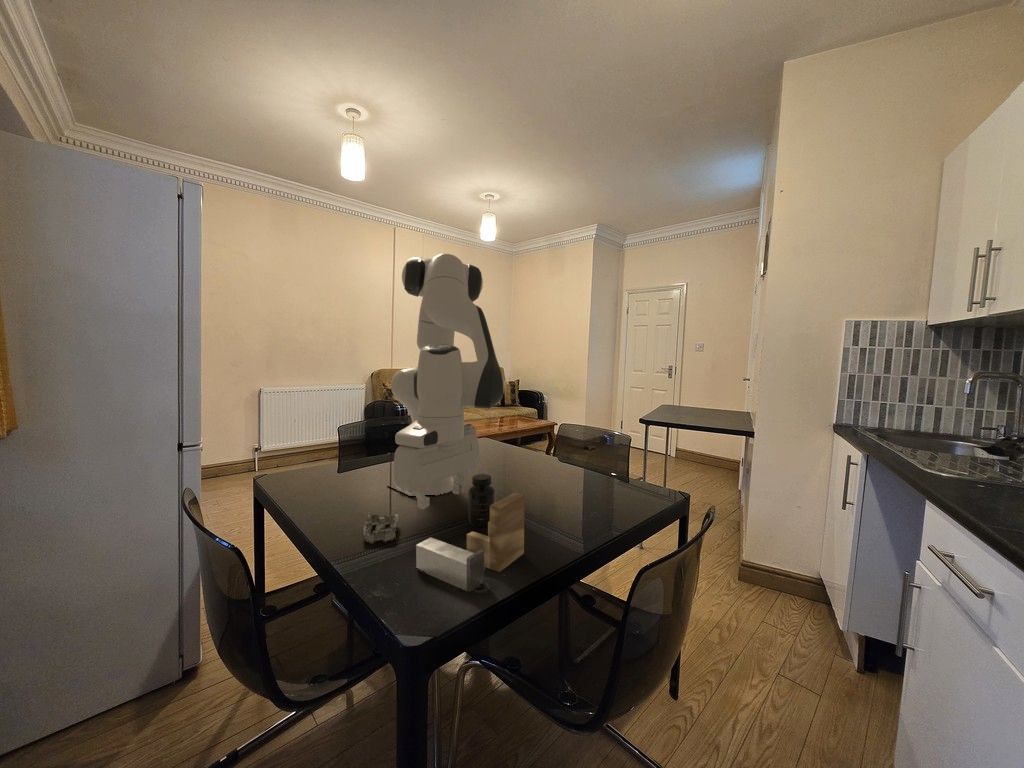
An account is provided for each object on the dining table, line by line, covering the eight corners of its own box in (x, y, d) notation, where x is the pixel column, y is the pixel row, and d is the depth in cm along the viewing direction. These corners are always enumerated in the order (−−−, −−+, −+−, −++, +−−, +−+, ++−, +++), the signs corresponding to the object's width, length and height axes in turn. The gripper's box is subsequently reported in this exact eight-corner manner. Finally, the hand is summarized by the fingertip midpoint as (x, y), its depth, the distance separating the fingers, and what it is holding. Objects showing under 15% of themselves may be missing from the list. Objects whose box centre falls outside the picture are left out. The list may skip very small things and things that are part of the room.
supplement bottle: (470, 516, 105) (470, 472, 105) (496, 517, 105) (496, 472, 104) (466, 528, 99) (466, 480, 98) (494, 528, 98) (494, 481, 98)
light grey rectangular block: (416, 569, 80) (416, 539, 79) (431, 560, 83) (430, 531, 82) (470, 592, 72) (470, 559, 71) (483, 582, 75) (483, 550, 75)
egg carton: (368, 526, 100) (368, 510, 100) (399, 524, 101) (399, 508, 101) (360, 546, 89) (360, 528, 89) (395, 543, 91) (395, 525, 90)
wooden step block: (466, 559, 83) (466, 499, 82) (492, 543, 91) (492, 487, 90) (499, 572, 79) (499, 508, 78) (523, 553, 86) (524, 494, 85)
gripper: (463, 420, 87) (464, 483, 88) (387, 436, 70) (388, 513, 71) (487, 423, 83) (487, 488, 84) (412, 440, 66) (413, 521, 67)
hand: (441, 499), depth 77 cm, fingers open, 8 cm apart
